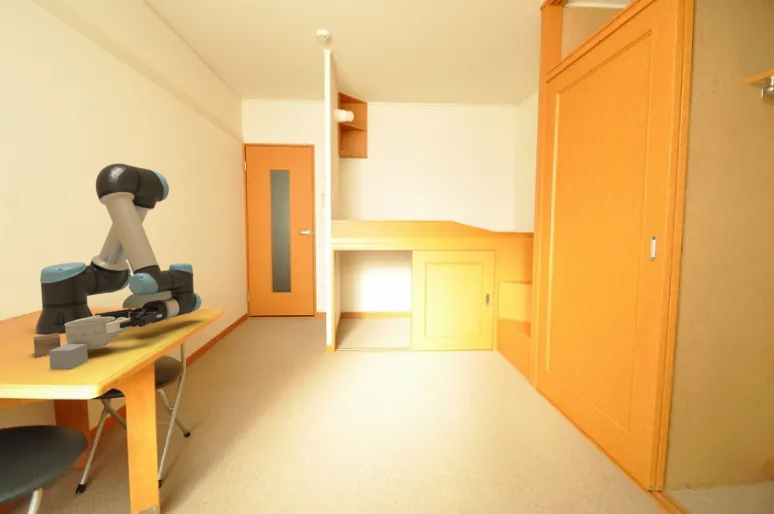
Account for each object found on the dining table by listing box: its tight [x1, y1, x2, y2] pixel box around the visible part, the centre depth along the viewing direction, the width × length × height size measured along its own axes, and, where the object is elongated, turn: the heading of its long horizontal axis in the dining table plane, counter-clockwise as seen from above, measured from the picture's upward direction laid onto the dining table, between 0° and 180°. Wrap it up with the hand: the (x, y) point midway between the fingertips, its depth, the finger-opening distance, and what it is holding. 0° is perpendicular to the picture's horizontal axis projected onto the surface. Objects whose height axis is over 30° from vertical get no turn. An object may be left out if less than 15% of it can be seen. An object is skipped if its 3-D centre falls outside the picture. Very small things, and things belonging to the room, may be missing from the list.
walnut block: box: [33, 333, 62, 359], centre depth 93 cm, size 5×5×5 cm
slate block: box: [49, 344, 89, 370], centre depth 85 cm, size 5×5×5 cm
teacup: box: [65, 317, 128, 351], centre depth 94 cm, size 14×11×8 cm
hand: (90, 326), depth 93 cm, fingers closed on teacup, 11 cm apart
